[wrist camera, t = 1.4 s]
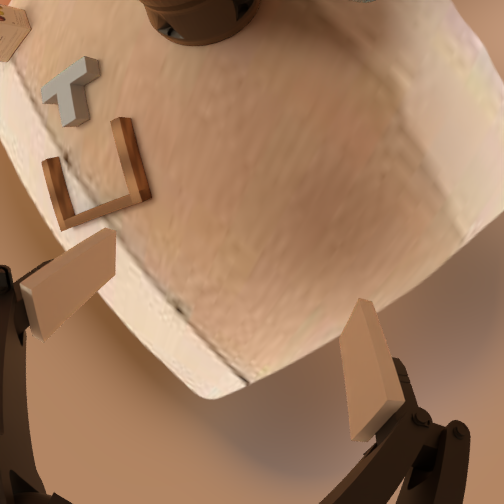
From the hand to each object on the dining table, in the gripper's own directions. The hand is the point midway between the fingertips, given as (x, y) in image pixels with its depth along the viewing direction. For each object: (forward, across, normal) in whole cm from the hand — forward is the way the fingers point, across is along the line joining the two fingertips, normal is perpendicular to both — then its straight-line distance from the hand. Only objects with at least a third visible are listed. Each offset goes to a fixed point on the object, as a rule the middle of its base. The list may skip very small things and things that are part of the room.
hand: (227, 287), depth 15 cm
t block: (+24, -32, +9) cm, 41 cm away
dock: (+24, -26, -3) cm, 35 cm away
